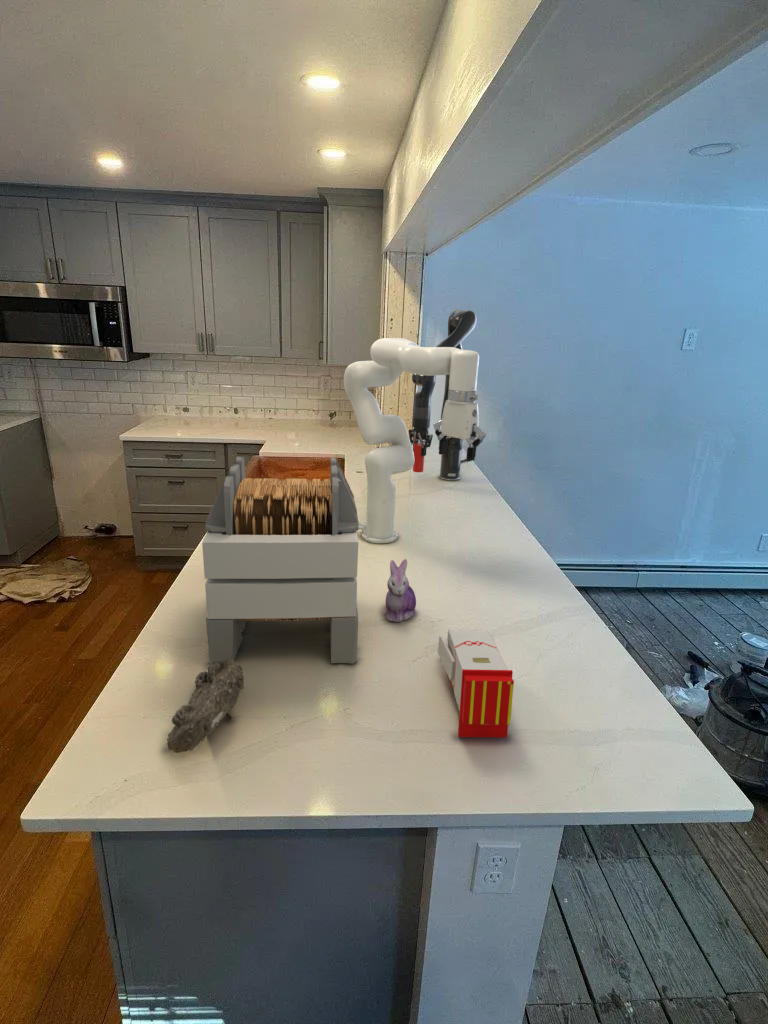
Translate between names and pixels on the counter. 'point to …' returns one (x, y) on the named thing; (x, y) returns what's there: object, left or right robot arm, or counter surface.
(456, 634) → the toy
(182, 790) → the counter surface
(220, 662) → the fossil
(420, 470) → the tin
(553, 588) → the counter surface
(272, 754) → the counter surface
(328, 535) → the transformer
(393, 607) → the figurine
